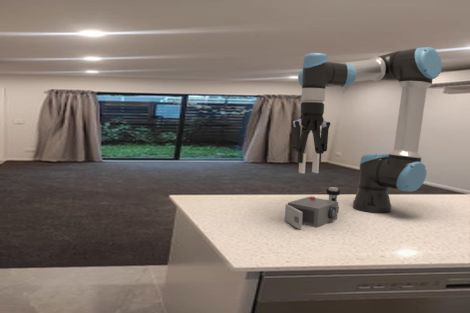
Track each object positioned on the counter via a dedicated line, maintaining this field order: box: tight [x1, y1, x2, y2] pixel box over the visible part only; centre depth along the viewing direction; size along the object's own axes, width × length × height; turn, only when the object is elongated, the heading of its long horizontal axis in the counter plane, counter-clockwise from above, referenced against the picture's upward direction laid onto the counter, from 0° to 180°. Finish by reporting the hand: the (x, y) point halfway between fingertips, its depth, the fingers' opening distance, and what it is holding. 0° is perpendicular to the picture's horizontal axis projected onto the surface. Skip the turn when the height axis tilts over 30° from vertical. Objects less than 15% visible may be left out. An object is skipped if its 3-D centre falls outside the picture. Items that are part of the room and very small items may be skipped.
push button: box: [326, 186, 341, 212], centre depth 157 cm, size 7×5×10 cm
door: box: [284, 203, 303, 230], centre depth 137 cm, size 2×12×6 cm, turn 17°
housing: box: [287, 195, 339, 228], centre depth 145 cm, size 16×13×7 cm
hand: (308, 172), depth 133 cm, fingers open, 4 cm apart
